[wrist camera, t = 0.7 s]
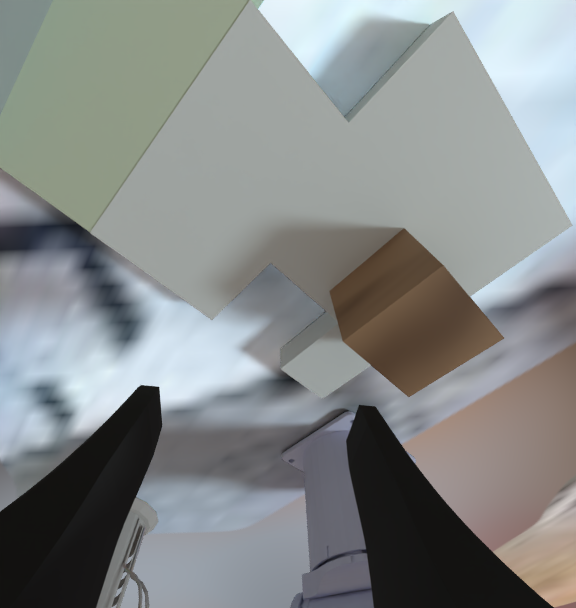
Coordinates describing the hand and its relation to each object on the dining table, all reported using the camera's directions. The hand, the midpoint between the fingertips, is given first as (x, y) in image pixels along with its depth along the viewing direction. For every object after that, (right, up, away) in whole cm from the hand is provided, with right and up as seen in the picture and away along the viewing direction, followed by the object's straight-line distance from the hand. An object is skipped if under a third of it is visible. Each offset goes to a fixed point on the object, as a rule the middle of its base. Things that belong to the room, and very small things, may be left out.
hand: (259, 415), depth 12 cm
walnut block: (+7, +5, +6) cm, 10 cm away
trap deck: (+2, +10, +5) cm, 12 cm away
